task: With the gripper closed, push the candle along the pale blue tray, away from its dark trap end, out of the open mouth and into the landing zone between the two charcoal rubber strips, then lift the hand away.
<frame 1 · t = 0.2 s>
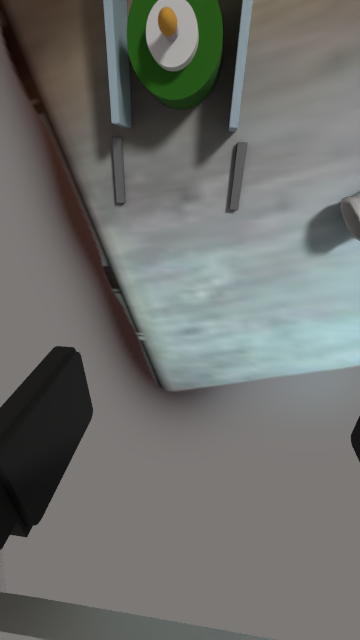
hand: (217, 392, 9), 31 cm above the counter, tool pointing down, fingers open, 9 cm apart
pale blue tray: (183, 2, 26), on the counter
candle: (181, 59, 29), on the counter
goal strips: (177, 174, 34), on the counter
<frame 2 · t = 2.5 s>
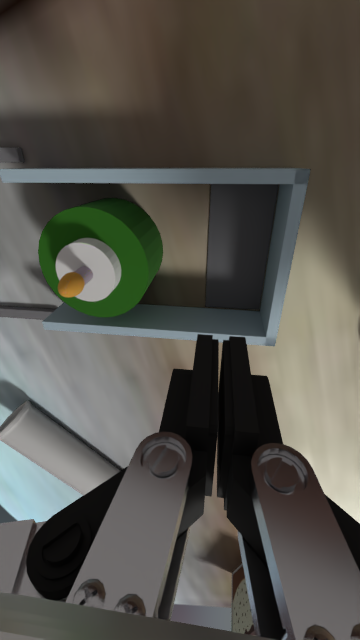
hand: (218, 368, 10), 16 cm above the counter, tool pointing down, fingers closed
pale blue tray: (161, 249, 24), on the counter
candle: (118, 247, 25), on the counter
food container: (256, 567, 52), on the counter
tube: (92, 452, 42), on the counter
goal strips: (9, 244, 26), on the counter
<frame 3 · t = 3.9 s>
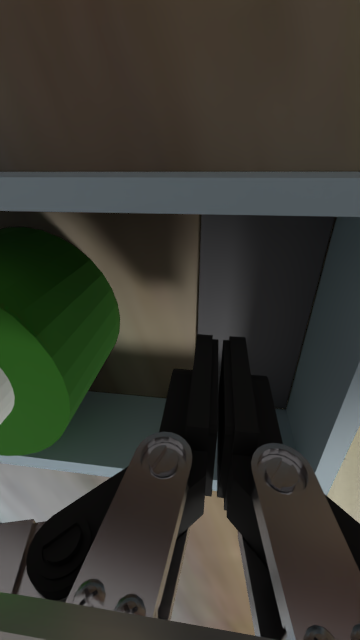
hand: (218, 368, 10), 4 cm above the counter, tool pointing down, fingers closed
pale blue tray: (116, 314, 14), on the counter
candle: (44, 307, 15), on the counter
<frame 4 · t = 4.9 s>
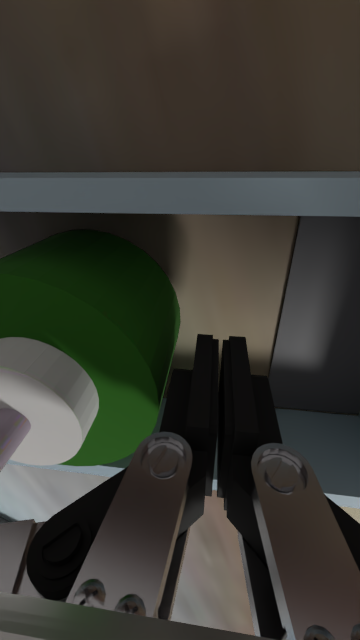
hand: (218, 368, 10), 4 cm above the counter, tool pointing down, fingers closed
pale blue tray: (192, 318, 13), on the counter
candle: (100, 311, 14), on the counter, touching gripper
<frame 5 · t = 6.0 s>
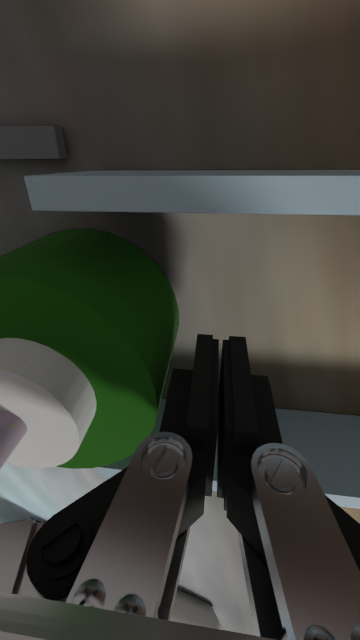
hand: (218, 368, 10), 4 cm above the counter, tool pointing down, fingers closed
pale blue tray: (325, 325, 13), on the counter
candle: (98, 311, 14), on the counter, touching gripper
tube: (130, 566, 30), on the counter
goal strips: (30, 309, 14), on the counter
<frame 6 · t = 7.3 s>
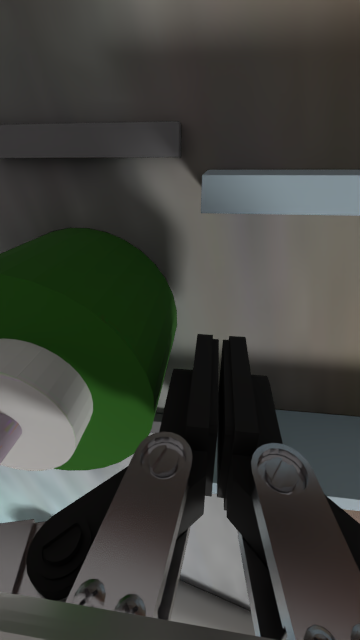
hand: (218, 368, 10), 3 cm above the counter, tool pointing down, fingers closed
candle: (96, 311, 14), on the counter, touching gripper
tube: (166, 574, 30), on the counter
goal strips: (110, 314, 14), on the counter
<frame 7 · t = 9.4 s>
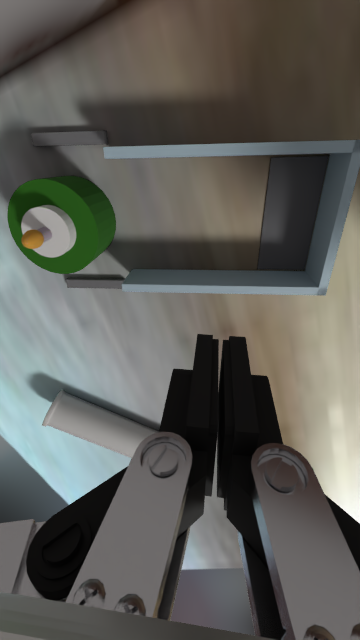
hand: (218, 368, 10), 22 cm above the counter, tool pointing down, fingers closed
pale blue tray: (222, 218, 28), on the counter
candle: (78, 218, 30), on the counter
tube: (132, 423, 46), on the counter
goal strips: (85, 219, 30), on the counter
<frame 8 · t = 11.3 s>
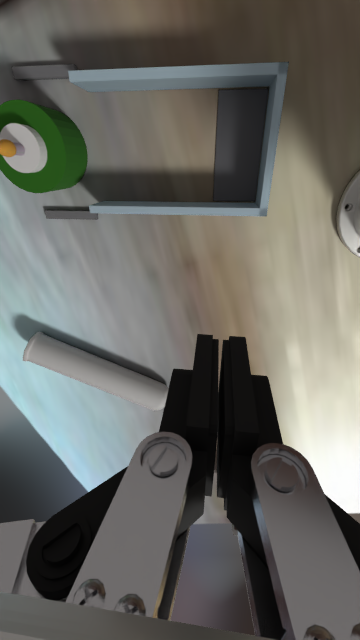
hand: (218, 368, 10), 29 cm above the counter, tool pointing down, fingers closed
pale blue tray: (180, 150, 32), on the counter
candle: (55, 151, 34), on the counter
tube: (107, 364, 50), on the counter
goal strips: (60, 151, 33), on the counter
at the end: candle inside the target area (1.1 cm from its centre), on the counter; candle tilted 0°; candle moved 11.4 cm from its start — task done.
